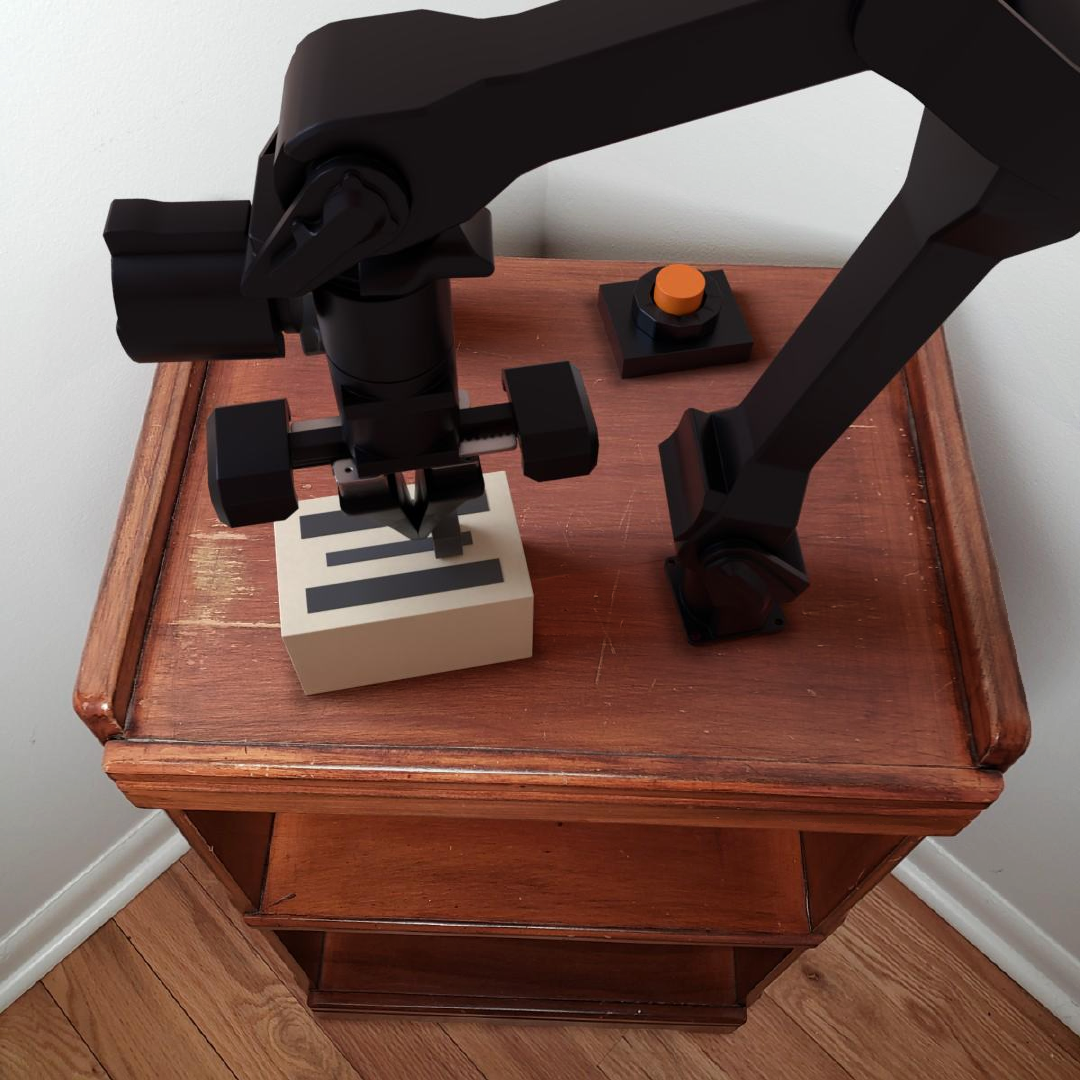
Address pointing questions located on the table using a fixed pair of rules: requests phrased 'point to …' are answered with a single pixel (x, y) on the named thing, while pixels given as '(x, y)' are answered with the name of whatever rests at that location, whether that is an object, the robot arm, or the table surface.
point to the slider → (448, 537)
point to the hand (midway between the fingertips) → (418, 533)
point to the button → (679, 289)
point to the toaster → (401, 594)
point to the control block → (672, 328)
